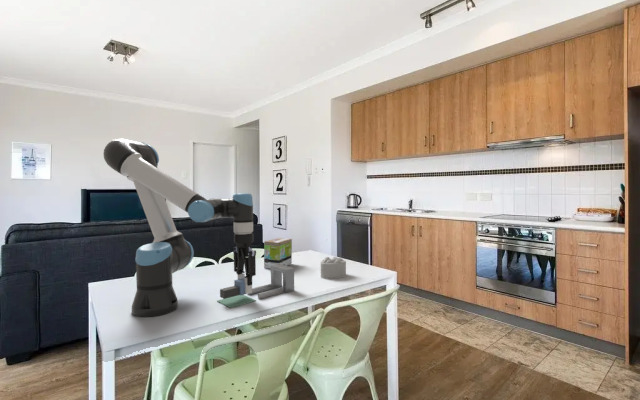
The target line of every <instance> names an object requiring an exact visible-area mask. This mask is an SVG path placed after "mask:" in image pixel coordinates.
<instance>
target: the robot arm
mask: <svg viewBox="0 0 640 400" xmlns="http://www.w3.org/2000/svg"><path fill="white" fill-rule="evenodd" d="M105 145H106V146H105V147H104V149H103V159H104V161H105V163H106V164H107V166H109V168H111V169H112V170H114V171H115V172H116V173H119V174H120V175H122V176H123V177H126V178H127V180H129V181H131V182H133V184H134V188H135V190H136V192H137V196H138V197H139V200H140V203H141V206H142V209H143V212H144V214H145V217H146V219H147V223H148V225H149V227H150V230H151V233H152V235H153V237H154V238H153V241H152V242H151V243H146V244H143V245H141V246H140V247H138V248H137V249H136V252H135V260H134V261H135V272H136V273H135V275H136V278H135V279H136V280H135V281H136V291H135V294H134V298H133V301H132V304H131V314H132V315H133V316H135V317H144V318H145V317H147V318H148V317H156V316H161V315H165V314H168V313H170V312H173V311H176V310H177V309H178V307H179V300H178V296H177V295H176V292H175V289H174V286H173V274H174V273H176V272H178V271H181V270H184V269H185V268H186V267H187V266H188V265H190V263H191V262H192V260H193V259H194V255H195V253H194V251H195V250H194V248H193V245H192V244H191V242H189V241H187V239H185V238H184V235H183V233H182V232H180V231H178V230H177V228H176V225H175V222H174V220H173V217H172V214H171V212H170V209H169V206H168V203H167V201H169V202H170V203H172V204H173V205H175V206H176V207H178V208H179V209H181V210H183V211H185V212H186V213H187V214H188V217H189V218H190V219H191V220H192V221H193V222H195V223H206V222H210V221H213V220H217V219H225V218H226V219H228V218H229V219H232V220H233V223H232V224H233V243H234V244H236V246H233V247H232V253H233V271H234V273H236V275H237V280H238V279H242V278H245V294H244V295H248V294H249V293H252V288H253V277H255V276H256V273H257V272H256V271H257V270H256V255H257V250H255V249H253V248H252V243H254V241H255V240H254V239H255V238H254V233H253V232H254V201H253V195H252V193H249V192H248V193H239V192H238V193H233V195H232V198H207V199H206V198H205V197H204V196H202V195H200V194H199V193H197V192H196V191H194V190H193V189H191V188H190V187H188V186H186V185H184V184H183V183H182V182H180V181H179V180H177V179H176V178H174V177H172V176H171V175H169V174H167V173H166V172H164V171H163V170H161V169H160V168H158V166H159V165H158V164H159V162H160V158H159V154H158V151H157V150H156V149H155V147H153V146H152V145H150V144H148V143H145V142H141V141H134V140H129V139H125V138H117V139H112V140H111V141H110V142H108V143H107V144H105ZM166 200H167V201H166Z"/></svg>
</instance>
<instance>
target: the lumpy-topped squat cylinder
mask: <svg viewBox="0 0 640 400" xmlns="http://www.w3.org/2000/svg"><path fill="white" fill-rule="evenodd" d="M346 275H347V261H346V260H345V259H344V258H341V257H336V256H333V257H328V256H326V257H324V259H322V260H321V261H320V278H321V279H326V280H331V279H332V280H333V279H340V278H343V277H346Z"/></svg>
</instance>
